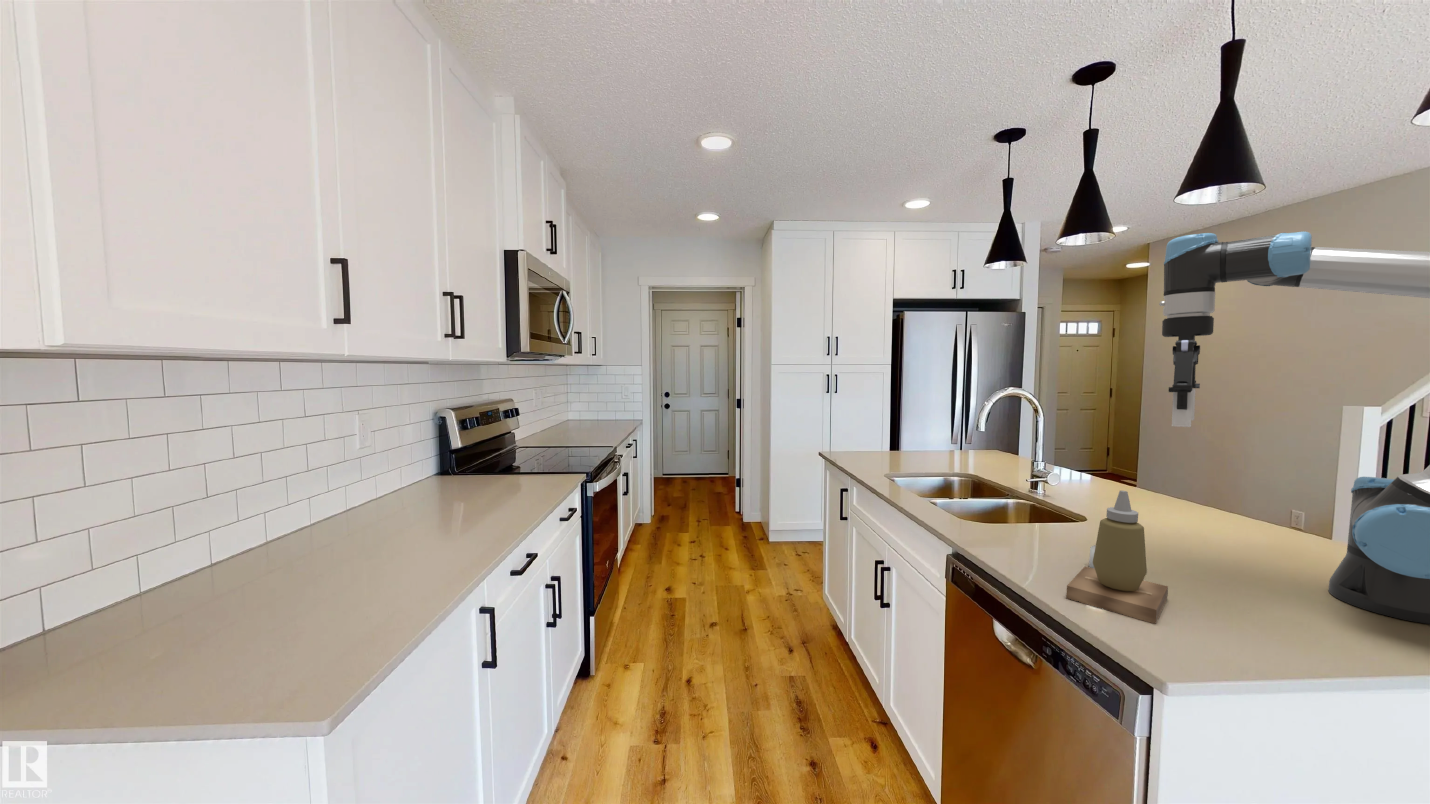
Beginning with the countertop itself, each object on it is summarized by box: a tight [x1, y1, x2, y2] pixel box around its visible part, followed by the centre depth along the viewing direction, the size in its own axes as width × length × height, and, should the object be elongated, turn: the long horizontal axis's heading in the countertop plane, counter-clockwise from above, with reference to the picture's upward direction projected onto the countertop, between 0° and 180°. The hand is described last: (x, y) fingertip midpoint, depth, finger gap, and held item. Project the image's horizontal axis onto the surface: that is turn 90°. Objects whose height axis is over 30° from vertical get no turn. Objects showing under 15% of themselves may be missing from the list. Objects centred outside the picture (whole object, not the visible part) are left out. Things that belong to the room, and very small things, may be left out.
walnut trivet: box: [1065, 566, 1169, 625], centre depth 97 cm, size 13×13×3 cm
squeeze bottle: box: [1093, 490, 1148, 591], centre depth 96 cm, size 8×8×18 cm
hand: (1183, 423), depth 104 cm, fingers open, 13 cm apart
